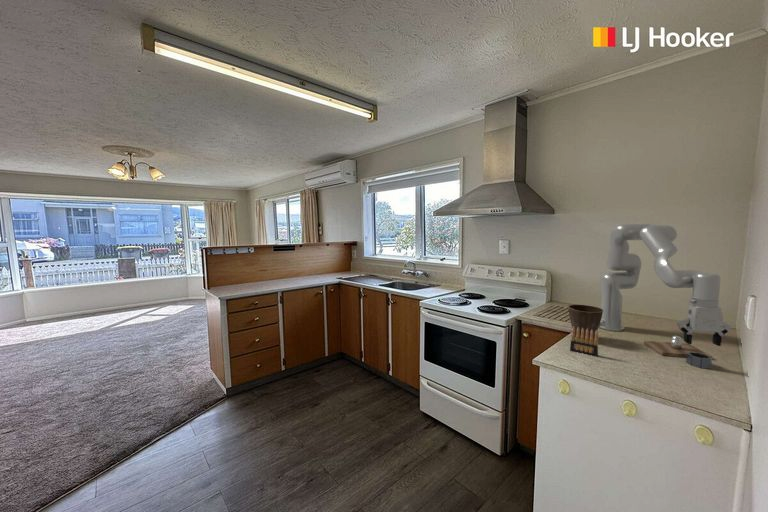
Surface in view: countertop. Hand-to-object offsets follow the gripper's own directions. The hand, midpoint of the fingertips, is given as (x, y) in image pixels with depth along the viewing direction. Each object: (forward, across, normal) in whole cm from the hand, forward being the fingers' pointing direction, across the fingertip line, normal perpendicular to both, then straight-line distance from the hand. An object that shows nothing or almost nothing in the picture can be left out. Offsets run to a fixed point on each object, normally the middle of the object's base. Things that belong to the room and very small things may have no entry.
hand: (702, 343), depth 126 cm
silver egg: (+7, 0, +15) cm, 16 cm away
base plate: (+9, 0, +15) cm, 17 cm away
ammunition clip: (+9, -42, +4) cm, 43 cm away
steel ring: (+9, 0, +1) cm, 9 cm away
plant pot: (+9, -35, +24) cm, 43 cm away
